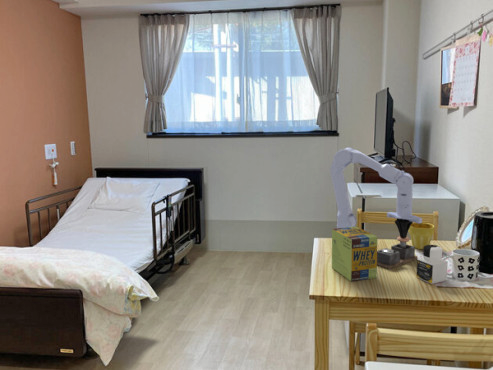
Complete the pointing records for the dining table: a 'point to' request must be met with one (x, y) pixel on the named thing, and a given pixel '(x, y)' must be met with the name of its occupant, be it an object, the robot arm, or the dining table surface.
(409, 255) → the wooden cubby shelf
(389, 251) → the steel plunger
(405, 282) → the dining table surface
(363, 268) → the protein box
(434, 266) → the medicine bottle
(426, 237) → the plant pot
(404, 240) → the terracotta plunger
